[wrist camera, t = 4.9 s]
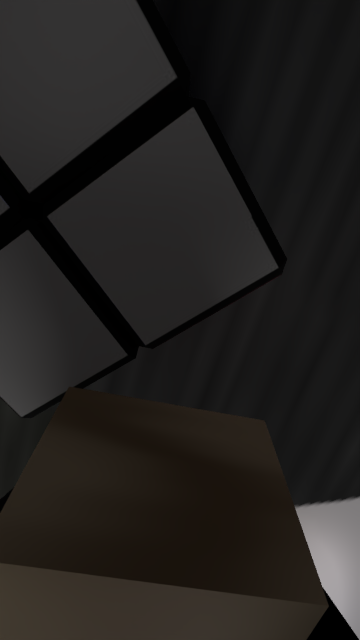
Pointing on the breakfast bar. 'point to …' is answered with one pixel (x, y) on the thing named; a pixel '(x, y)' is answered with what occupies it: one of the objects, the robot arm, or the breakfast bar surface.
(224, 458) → the oak block
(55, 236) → the puzzle cube
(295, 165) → the breakfast bar surface
